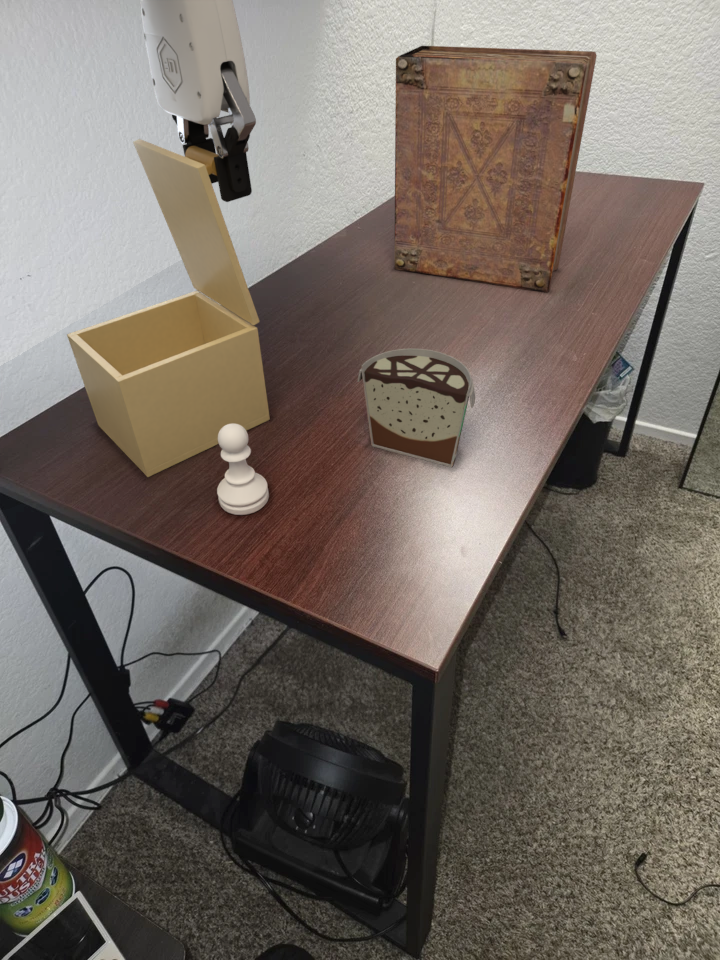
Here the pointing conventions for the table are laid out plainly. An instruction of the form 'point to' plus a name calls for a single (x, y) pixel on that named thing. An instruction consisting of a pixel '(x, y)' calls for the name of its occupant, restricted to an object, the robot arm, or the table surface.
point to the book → (487, 160)
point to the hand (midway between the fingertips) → (220, 188)
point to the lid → (197, 223)
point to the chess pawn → (239, 474)
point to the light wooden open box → (172, 378)
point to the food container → (417, 402)
